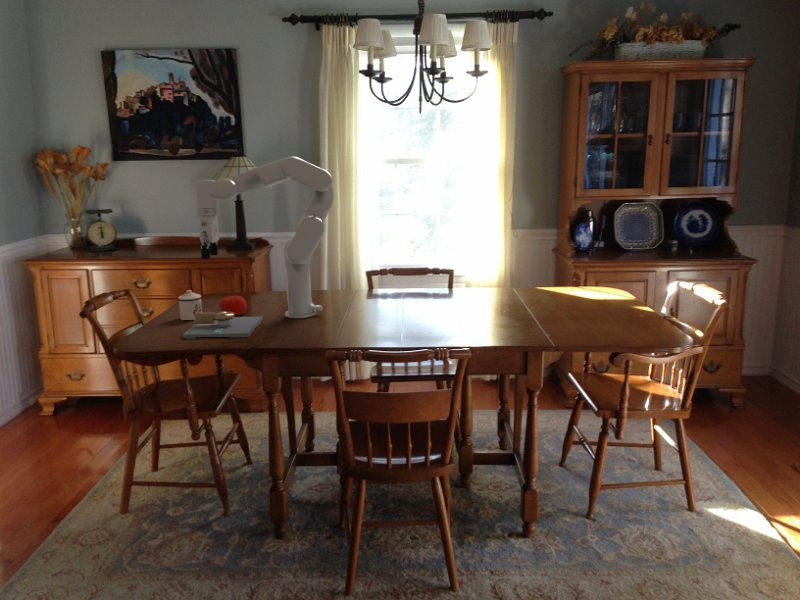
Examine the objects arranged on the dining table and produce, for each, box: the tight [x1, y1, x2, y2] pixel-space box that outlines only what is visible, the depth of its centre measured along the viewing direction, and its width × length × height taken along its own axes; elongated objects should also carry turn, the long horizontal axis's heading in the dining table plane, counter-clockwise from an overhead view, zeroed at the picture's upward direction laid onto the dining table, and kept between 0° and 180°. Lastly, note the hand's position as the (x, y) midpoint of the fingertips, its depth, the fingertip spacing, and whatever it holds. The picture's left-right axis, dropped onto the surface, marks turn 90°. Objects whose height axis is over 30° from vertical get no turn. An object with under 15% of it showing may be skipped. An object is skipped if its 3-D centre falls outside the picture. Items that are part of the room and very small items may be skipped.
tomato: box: [219, 295, 248, 317], centre depth 278 cm, size 11×11×8 cm
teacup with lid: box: [177, 289, 203, 321], centre depth 275 cm, size 12×9×12 cm
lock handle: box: [194, 311, 235, 324], centre depth 256 cm, size 14×8×4 cm, turn 89°
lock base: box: [182, 316, 264, 339], centre depth 257 cm, size 24×24×4 cm
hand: (209, 256), depth 261 cm, fingers open, 9 cm apart
